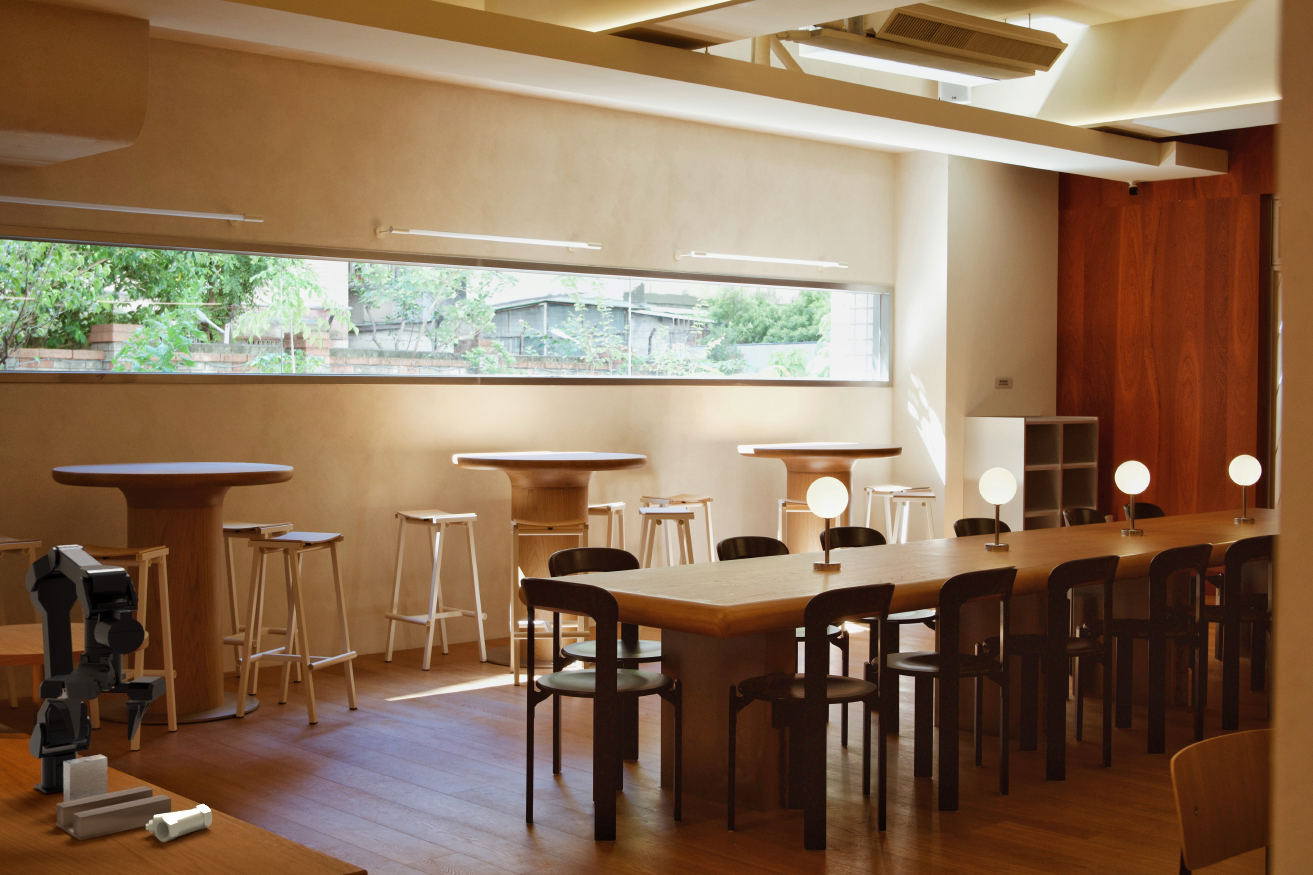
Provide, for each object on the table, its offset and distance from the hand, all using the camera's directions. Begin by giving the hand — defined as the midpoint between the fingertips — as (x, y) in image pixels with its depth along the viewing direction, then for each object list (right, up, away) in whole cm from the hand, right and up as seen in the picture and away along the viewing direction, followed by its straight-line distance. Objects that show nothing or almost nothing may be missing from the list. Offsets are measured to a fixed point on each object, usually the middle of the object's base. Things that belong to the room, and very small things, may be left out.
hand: (102, 739), depth 198 cm
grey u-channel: (+4, -12, -5) cm, 14 cm away
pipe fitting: (+16, -12, -10) cm, 23 cm away
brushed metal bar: (-5, -12, +4) cm, 14 cm away
